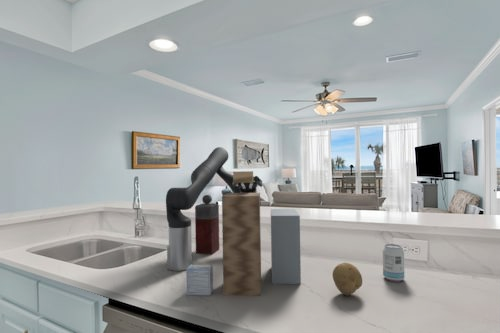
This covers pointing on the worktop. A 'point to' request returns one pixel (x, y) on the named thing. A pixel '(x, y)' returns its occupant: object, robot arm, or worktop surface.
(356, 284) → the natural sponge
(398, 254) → the beverage can
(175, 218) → the robot arm
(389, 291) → the worktop surface
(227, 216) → the tall pedestal
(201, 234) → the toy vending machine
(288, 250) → the short pedestal
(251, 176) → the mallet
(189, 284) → the medicine box
